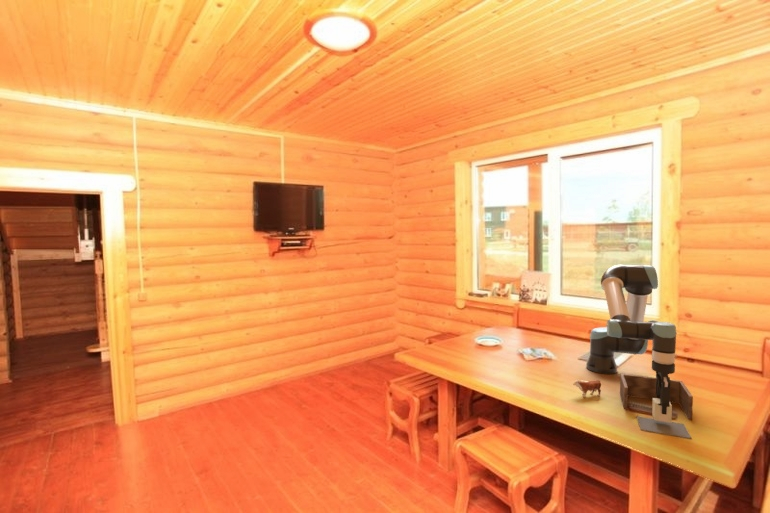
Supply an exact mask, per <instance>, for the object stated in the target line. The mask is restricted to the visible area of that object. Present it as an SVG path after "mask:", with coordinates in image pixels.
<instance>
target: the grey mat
mask: <svg viewBox="0 0 770 513" xmlns="http://www.w3.org/2000/svg"><path fill="white" fill-rule="evenodd" d="M636 418H637V423H638V425H639V429H640V431H644V432H649V433H654V434H660V435H665V436H671V437H676V438H683V439H687V440H688V439H689V440H692V436H691V434H690V433H689V431H688V429H687V428H686V425H685V424H684V423H682V422H675V421H671V423H669V422H663V421H657V420H654V418H651V417H647V416H646V417H645V416H638V415H637V416H636Z"/></svg>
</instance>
